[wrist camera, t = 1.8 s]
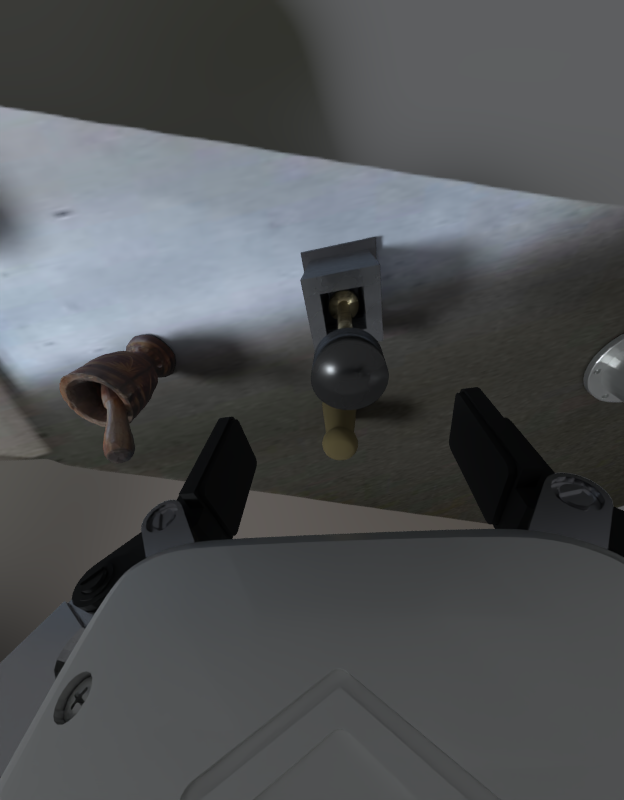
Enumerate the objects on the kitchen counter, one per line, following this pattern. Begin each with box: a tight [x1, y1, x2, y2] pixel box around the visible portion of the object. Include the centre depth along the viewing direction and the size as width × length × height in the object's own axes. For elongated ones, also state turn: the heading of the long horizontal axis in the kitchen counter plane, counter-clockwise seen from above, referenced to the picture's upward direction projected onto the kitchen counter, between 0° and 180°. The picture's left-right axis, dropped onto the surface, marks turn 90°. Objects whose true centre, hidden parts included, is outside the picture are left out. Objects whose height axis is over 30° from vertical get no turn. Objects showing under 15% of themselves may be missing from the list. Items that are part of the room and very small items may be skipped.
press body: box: [300, 237, 383, 350], centre depth 31 cm, size 9×11×12 cm
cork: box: [322, 402, 358, 460], centre depth 42 cm, size 6×6×11 cm
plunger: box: [311, 290, 389, 410], centre depth 21 cm, size 4×4×15 cm
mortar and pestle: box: [60, 335, 176, 463], centre depth 35 cm, size 12×9×20 cm
